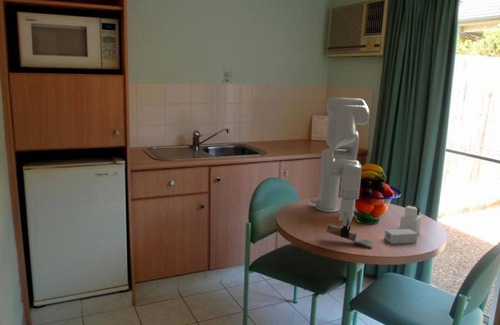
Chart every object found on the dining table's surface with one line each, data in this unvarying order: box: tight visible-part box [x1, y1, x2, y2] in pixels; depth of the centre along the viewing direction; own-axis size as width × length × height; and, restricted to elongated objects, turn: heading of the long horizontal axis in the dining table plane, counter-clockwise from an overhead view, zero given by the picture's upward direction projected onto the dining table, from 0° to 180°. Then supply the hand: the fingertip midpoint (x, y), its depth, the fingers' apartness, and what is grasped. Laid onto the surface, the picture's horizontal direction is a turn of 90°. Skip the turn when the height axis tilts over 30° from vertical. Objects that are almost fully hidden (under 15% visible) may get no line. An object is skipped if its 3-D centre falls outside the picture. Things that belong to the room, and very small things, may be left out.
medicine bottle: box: [399, 204, 422, 234], centre depth 193 cm, size 7×7×12 cm
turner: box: [326, 223, 373, 249], centre depth 176 cm, size 19×5×3 cm, turn 71°
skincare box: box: [384, 228, 418, 245], centre depth 182 cm, size 6×4×12 cm
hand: (345, 235), depth 177 cm, fingers closed on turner, 2 cm apart
